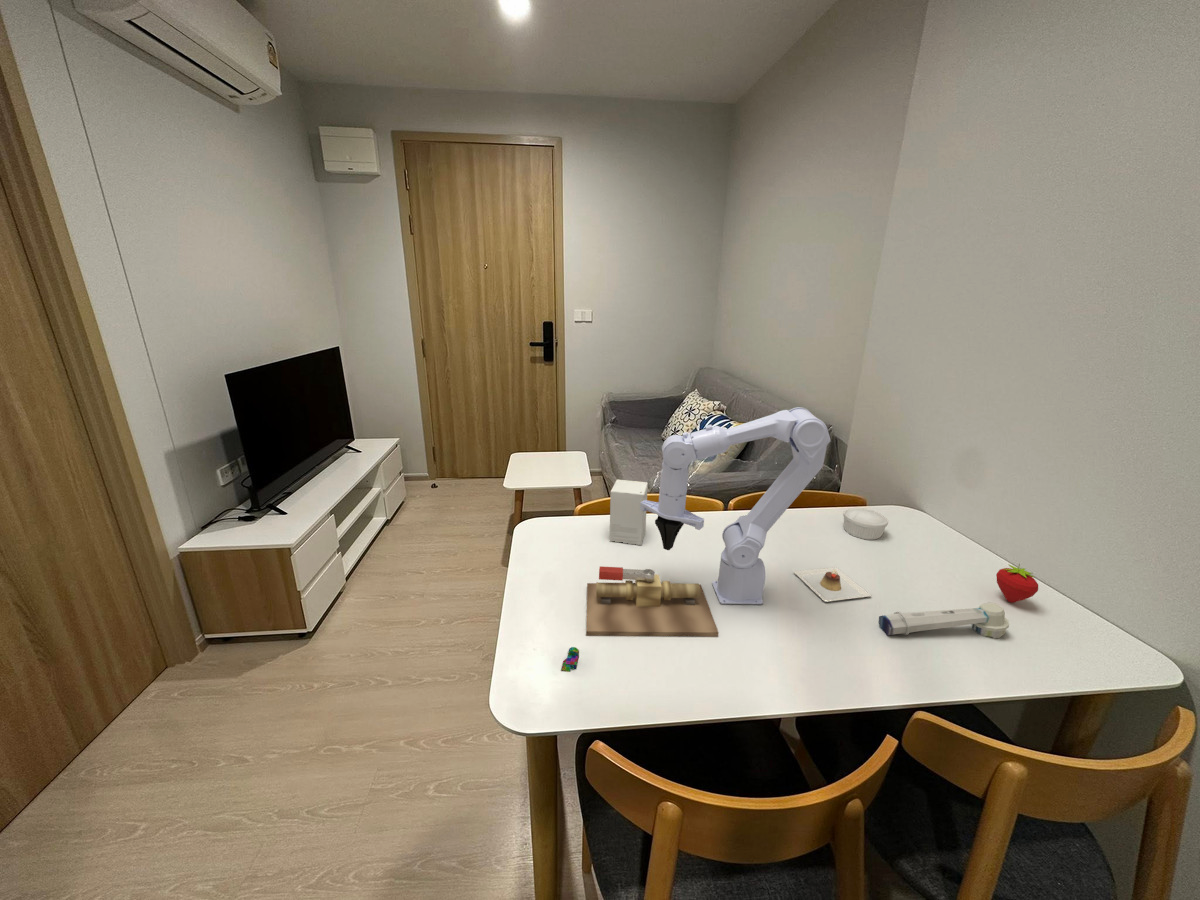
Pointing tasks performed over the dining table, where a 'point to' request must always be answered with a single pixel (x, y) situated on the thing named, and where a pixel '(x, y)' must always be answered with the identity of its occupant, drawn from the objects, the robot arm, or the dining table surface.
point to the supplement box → (627, 511)
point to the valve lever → (625, 574)
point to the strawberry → (1016, 584)
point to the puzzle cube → (571, 660)
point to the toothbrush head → (948, 620)
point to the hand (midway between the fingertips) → (668, 547)
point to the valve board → (648, 609)
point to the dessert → (832, 582)
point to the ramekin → (864, 523)
